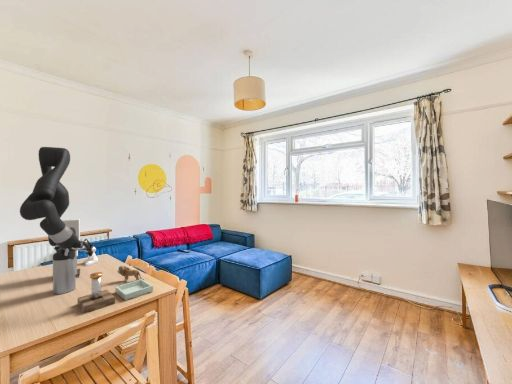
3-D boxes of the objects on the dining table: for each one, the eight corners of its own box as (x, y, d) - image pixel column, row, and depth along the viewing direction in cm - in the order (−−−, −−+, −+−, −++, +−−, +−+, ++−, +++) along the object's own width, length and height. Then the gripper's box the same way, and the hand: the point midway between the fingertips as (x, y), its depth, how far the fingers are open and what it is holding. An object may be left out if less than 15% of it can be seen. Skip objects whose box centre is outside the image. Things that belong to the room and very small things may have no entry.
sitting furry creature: (81, 263, 169) (81, 246, 168) (95, 260, 175) (95, 244, 175) (85, 266, 163) (85, 248, 162) (100, 263, 169) (100, 246, 169)
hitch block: (77, 304, 110) (77, 297, 110) (106, 295, 119) (106, 289, 119) (84, 313, 102) (84, 306, 102) (115, 303, 111) (115, 297, 111)
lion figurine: (115, 282, 135) (115, 267, 135) (120, 279, 140) (120, 264, 140) (142, 282, 136) (142, 267, 135) (145, 279, 141) (145, 264, 141)
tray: (115, 292, 123) (115, 286, 123) (142, 284, 133) (142, 279, 133) (125, 300, 114) (125, 294, 114) (153, 291, 124) (153, 285, 124)
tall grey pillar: (79, 277, 143) (78, 219, 142) (56, 281, 137) (55, 221, 136) (80, 271, 152) (79, 217, 151) (58, 275, 146) (58, 218, 145)
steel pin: (89, 304, 110) (89, 274, 110) (100, 300, 114) (100, 271, 114) (92, 307, 107) (91, 276, 107) (103, 303, 111) (103, 273, 111)
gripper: (82, 226, 109) (100, 247, 119) (49, 231, 107) (70, 252, 118) (76, 239, 103) (94, 260, 114) (41, 245, 102) (63, 265, 112)
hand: (82, 256), depth 116 cm, fingers open, 8 cm apart
